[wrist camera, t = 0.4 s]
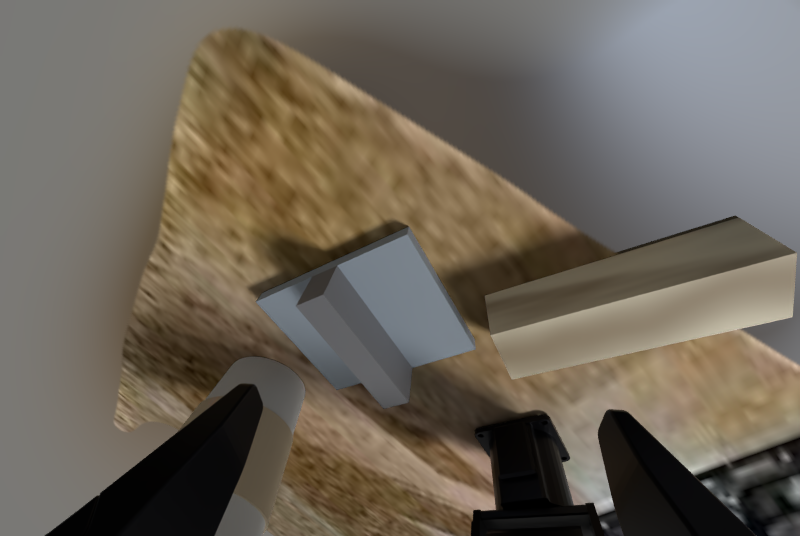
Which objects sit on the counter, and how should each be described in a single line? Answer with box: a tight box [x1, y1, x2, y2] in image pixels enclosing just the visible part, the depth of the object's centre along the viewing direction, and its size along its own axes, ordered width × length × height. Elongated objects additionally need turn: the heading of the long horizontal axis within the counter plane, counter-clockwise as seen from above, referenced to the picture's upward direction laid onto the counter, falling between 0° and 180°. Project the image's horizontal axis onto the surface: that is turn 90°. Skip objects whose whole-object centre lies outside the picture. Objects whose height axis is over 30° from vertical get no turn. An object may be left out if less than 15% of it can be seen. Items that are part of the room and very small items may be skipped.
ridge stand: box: [256, 227, 475, 409], centre depth 24 cm, size 10×12×4 cm
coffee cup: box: [178, 357, 305, 536], centre depth 25 cm, size 9×9×15 cm
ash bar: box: [485, 216, 797, 379], centre depth 21 cm, size 4×14×4 cm, turn 117°
